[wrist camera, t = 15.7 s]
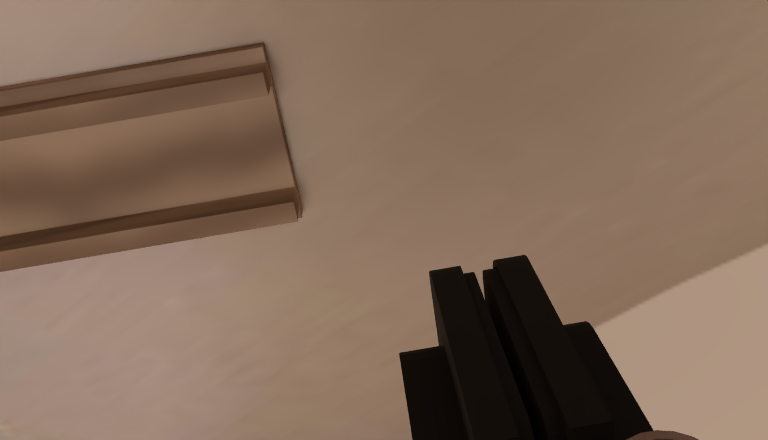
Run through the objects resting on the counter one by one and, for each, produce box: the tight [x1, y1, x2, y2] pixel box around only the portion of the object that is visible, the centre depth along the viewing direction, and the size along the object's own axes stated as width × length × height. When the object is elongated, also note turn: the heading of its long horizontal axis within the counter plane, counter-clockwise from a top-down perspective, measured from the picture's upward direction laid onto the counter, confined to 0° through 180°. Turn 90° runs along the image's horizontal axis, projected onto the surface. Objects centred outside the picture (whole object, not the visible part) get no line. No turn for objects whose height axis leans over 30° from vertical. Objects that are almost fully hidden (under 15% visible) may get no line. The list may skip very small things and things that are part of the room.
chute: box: [0, 43, 302, 272], centre depth 36 cm, size 10×28×6 cm, turn 99°
